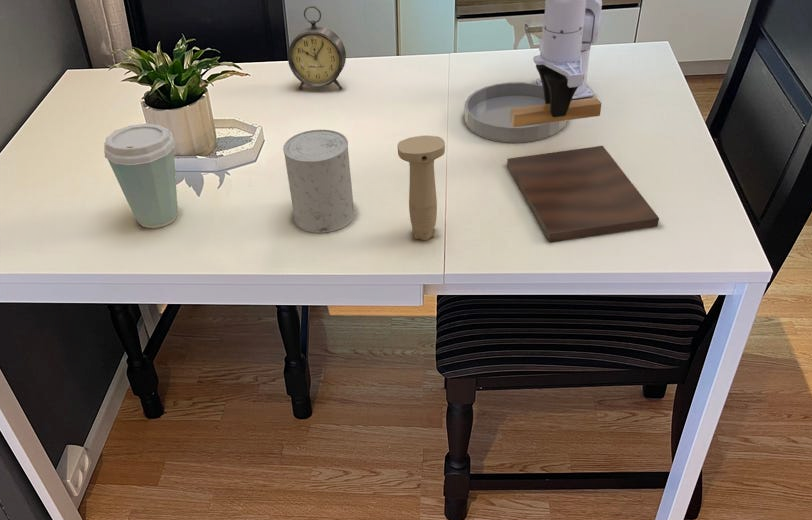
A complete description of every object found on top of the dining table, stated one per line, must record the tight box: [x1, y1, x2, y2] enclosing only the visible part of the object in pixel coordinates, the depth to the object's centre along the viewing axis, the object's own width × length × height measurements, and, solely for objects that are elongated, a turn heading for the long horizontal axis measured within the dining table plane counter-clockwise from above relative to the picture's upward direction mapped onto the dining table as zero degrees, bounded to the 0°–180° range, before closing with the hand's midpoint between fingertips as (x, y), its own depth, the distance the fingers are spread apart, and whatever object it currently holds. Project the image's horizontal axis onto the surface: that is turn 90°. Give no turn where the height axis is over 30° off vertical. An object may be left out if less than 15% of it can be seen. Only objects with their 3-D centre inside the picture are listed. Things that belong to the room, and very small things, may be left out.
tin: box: [464, 81, 568, 144], centre depth 141 cm, size 18×18×3 cm
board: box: [506, 145, 660, 243], centre depth 121 cm, size 22×16×2 cm
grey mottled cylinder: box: [282, 129, 356, 234], centre depth 119 cm, size 10×10×12 cm
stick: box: [510, 97, 603, 127], centre depth 125 cm, size 2×14×2 cm, turn 97°
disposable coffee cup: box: [103, 123, 179, 229], centre depth 122 cm, size 11×11×15 cm
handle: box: [397, 135, 446, 242], centre depth 112 cm, size 5×6×15 cm
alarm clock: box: [287, 5, 347, 90], centre depth 154 cm, size 11×5×16 cm, turn 77°
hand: (555, 111), depth 125 cm, fingers closed on stick, 2 cm apart
